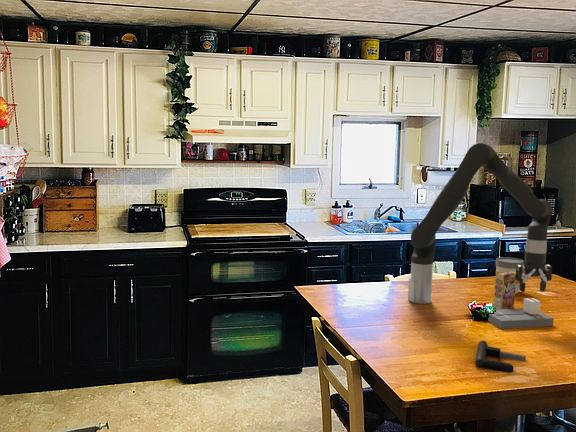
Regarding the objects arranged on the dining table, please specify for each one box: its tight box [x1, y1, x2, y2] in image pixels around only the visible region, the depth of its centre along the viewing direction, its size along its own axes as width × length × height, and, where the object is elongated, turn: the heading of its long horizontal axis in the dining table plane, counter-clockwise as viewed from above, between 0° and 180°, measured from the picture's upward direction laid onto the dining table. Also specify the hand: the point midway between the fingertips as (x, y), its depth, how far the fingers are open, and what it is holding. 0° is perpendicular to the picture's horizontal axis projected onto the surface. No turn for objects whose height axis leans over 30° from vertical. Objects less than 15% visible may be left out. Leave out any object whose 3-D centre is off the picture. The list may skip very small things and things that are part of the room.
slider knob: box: [522, 297, 541, 314], centre depth 237 cm, size 4×5×5 cm
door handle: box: [471, 340, 527, 373], centre depth 195 cm, size 3×20×16 cm
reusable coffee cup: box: [494, 256, 525, 295], centre depth 281 cm, size 12×13×15 cm
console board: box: [487, 307, 555, 330], centre depth 236 cm, size 22×14×3 cm, turn 101°
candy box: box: [492, 271, 516, 310], centre depth 254 cm, size 9×4×15 cm, turn 123°
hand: (532, 291), depth 236 cm, fingers open, 8 cm apart
